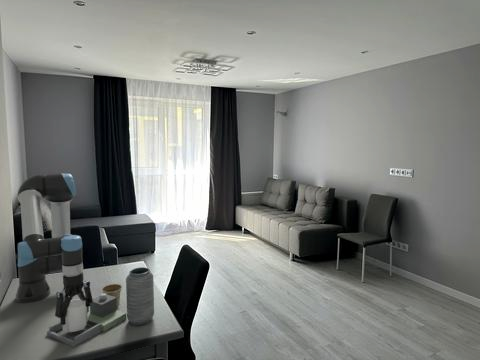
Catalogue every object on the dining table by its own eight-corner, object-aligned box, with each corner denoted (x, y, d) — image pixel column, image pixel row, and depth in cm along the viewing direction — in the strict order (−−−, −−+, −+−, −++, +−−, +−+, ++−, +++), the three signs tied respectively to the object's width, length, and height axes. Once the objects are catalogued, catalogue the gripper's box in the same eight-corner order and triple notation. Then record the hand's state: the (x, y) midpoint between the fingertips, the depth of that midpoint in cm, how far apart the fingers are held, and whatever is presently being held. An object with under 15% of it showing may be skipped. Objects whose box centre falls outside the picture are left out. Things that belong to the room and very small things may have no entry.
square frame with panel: (44, 333, 134) (43, 309, 133) (96, 308, 156) (95, 287, 155) (75, 347, 125) (74, 322, 124) (126, 318, 147) (125, 296, 146)
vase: (128, 329, 138) (126, 277, 136) (126, 316, 148) (124, 268, 146) (156, 323, 142) (155, 273, 140) (152, 311, 153) (151, 264, 151)
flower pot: (115, 310, 154) (115, 293, 153) (98, 308, 156) (97, 291, 155) (126, 301, 163) (125, 284, 163) (109, 299, 165) (109, 283, 164)
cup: (79, 315, 144) (78, 294, 143) (89, 326, 136) (88, 303, 135) (59, 322, 138) (58, 300, 137) (68, 334, 130) (66, 310, 129)
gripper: (54, 284, 122) (56, 341, 125) (100, 266, 141) (102, 316, 143) (42, 280, 126) (45, 336, 128) (89, 264, 144) (91, 312, 147)
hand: (75, 325), depth 136 cm, fingers closed on cup, 8 cm apart
